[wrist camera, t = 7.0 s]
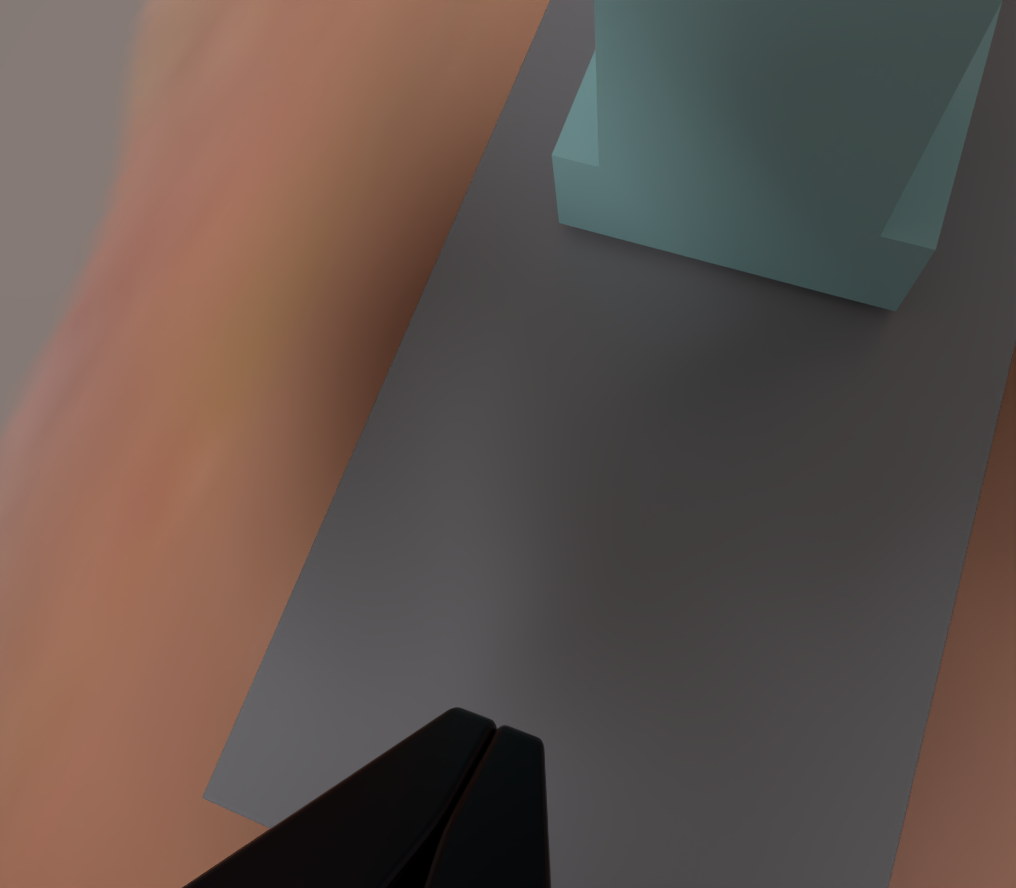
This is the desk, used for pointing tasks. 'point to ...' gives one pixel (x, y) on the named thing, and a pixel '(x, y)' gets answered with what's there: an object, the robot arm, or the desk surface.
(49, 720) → the desk surface
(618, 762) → the track
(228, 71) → the desk surface
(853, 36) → the teal upright block
